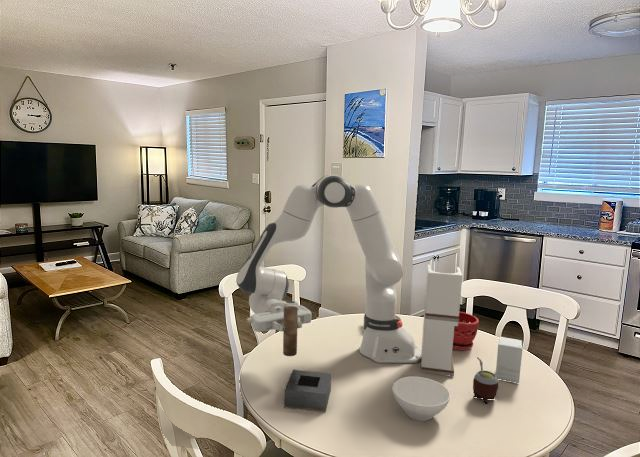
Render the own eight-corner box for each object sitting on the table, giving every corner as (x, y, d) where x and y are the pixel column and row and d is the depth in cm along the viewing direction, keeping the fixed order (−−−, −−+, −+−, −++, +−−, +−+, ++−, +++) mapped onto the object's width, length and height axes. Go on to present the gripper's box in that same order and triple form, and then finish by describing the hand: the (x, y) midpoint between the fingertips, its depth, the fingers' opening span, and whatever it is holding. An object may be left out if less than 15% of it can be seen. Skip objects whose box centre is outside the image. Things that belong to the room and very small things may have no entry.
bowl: (412, 436, 113) (414, 411, 112) (380, 404, 127) (381, 381, 126) (460, 422, 119) (462, 399, 118) (424, 393, 134) (426, 372, 133)
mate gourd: (494, 394, 134) (498, 349, 132) (499, 408, 127) (504, 360, 124) (469, 391, 136) (473, 346, 133) (472, 405, 128) (476, 357, 126)
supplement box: (519, 375, 147) (522, 340, 145) (518, 385, 141) (522, 348, 139) (495, 370, 150) (499, 335, 148) (494, 379, 144) (498, 343, 142)
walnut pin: (298, 350, 141) (299, 306, 138) (295, 356, 136) (296, 311, 134) (284, 349, 141) (285, 305, 139) (281, 355, 137) (282, 310, 135)
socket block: (330, 390, 134) (331, 373, 133) (325, 412, 122) (326, 394, 121) (292, 386, 136) (293, 369, 135) (284, 407, 124) (284, 389, 123)
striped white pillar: (453, 376, 145) (462, 275, 139) (421, 372, 147) (428, 272, 141) (451, 361, 156) (459, 267, 150) (421, 357, 158) (427, 264, 152)
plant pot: (452, 354, 162) (454, 323, 160) (435, 339, 174) (437, 311, 172) (483, 351, 165) (486, 321, 163) (464, 337, 177) (466, 309, 175)
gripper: (245, 309, 143) (260, 323, 131) (300, 300, 153) (319, 313, 141) (245, 327, 144) (260, 343, 132) (300, 317, 154) (319, 331, 142)
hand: (291, 327), depth 137 cm, fingers closed on walnut pin, 4 cm apart
